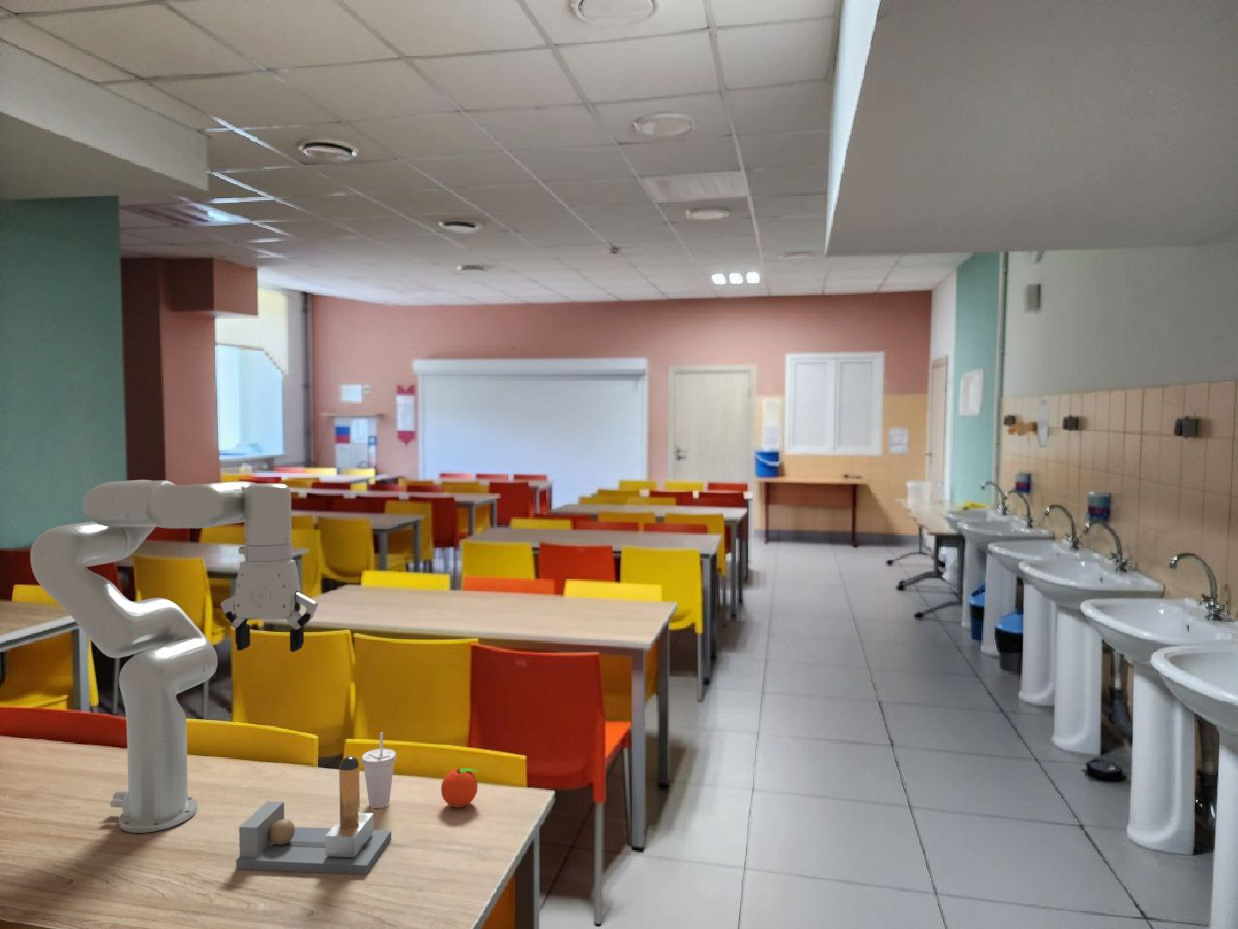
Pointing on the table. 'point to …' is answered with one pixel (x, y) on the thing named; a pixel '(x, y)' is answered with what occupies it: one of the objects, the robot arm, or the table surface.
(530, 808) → the table surface
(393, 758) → the smoothie
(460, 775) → the clementine
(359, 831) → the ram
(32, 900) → the table surface
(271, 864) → the frame
